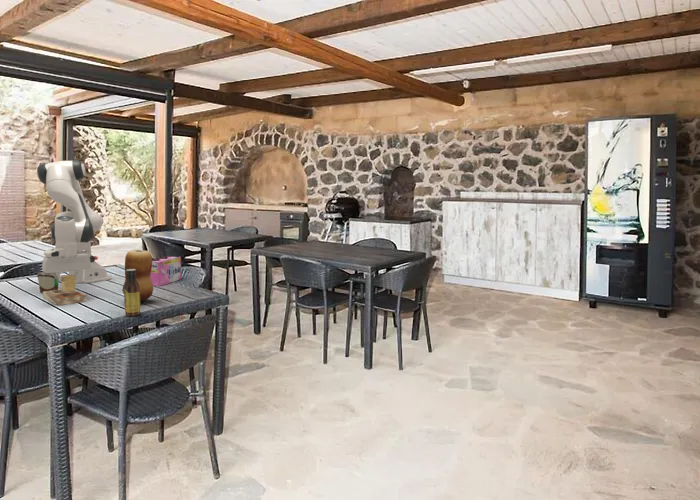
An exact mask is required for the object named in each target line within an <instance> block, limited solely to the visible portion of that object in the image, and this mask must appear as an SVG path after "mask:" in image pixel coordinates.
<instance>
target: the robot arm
mask: <svg viewBox="0 0 700 500" xmlns="http://www.w3.org/2000/svg"><path fill="white" fill-rule="evenodd" d="M36 175H37V178H38V180H39V181H40V183H42V184H44V185H45V186H46V192H47V195H48V197H49V198H50V199H51V200H53V201H54V202H56V203H59V204H61V205H62V206H63V207H65V208H67V209H68V211H61V212H58V213H57V214H56V215H55V218H54V223H53V224H52V225H50V227H49V228H50V240H52V241H54V242H55V244H54V245H55V247H53V248H51V249H49V250H45V251H44V252H43V255H44V257H43V259H42V263H41V265H42V267H41V270H42V273H43V272H44V273H56V275H57V276H58V278H59V282H60V283H61V282H62V281H64V280H63V277H61V273H65V272H68V275H70V274H71V275H74V276H75V284H77V283H78V284H80V283H81V284H86V283H87V284H90V283H96V282H102V281H107V280H112V276H111V275H108V272H107V270H106V269H107V268H105V267H104V266H103V265H101V264H99V263H98V262H96V261H97V260H98V259H99V256H97V255H92V244H91V241H92V240H93V239H94V238H95V232H96V231H99V230H100V229H101V228H102V226H103V218H102V216H101V215H100V214H99V213H97V212H95V210H93V209H92V208H91V206H89V205H88V203H87V202H86V199H85V197H84V194H83V189H82V188H81V184H80V181H81V180H83V179H84V178H85V176H86V168H85V165H84V163H83V162H82V161H80V160H77V159H73V160H58V161H51V162H49V163H42V164H39V165H38V167H37V169H36ZM69 210H70V211H69Z"/></svg>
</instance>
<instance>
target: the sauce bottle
mask: <svg viewBox="0 0 700 500" xmlns="http://www.w3.org/2000/svg"><path fill="white" fill-rule="evenodd" d="M126 274H127V280H126V283H125V286H124V293H123V298H124V302H123V303H124V314H125V315H126V316H130V317H132V316H133V317H134V316H135V317H136V316H139V315H141V302H140V290H139V283H138V282H137V281H136V269H127V270H126Z"/></svg>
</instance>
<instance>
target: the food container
mask: <svg viewBox="0 0 700 500" xmlns="http://www.w3.org/2000/svg"><path fill="white" fill-rule="evenodd" d="M36 277H37V280H38V287H39V293H40V294H43V292H44V291H52V290H59V286H60V285H59V278H58V276H57V275H56V273H44V272H43V271H42V272H37V275H36Z"/></svg>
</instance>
